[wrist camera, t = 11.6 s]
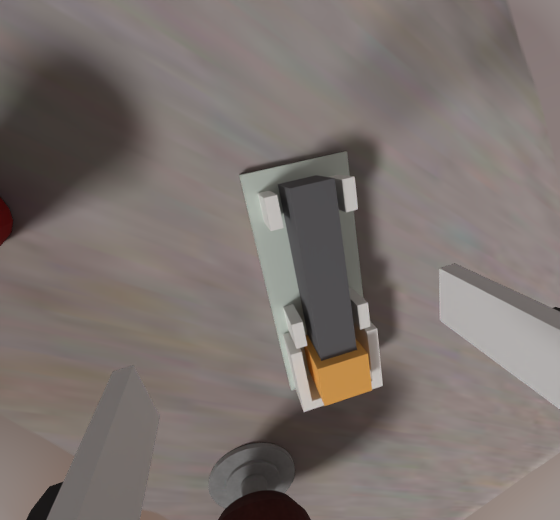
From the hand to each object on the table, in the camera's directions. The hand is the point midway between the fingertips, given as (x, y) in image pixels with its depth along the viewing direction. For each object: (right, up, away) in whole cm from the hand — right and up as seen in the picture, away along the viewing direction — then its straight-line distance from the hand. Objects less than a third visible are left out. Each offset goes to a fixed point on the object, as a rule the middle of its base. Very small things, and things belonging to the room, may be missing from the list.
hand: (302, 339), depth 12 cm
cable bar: (+3, +1, +21) cm, 21 cm away
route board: (+3, +1, +22) cm, 22 cm away
